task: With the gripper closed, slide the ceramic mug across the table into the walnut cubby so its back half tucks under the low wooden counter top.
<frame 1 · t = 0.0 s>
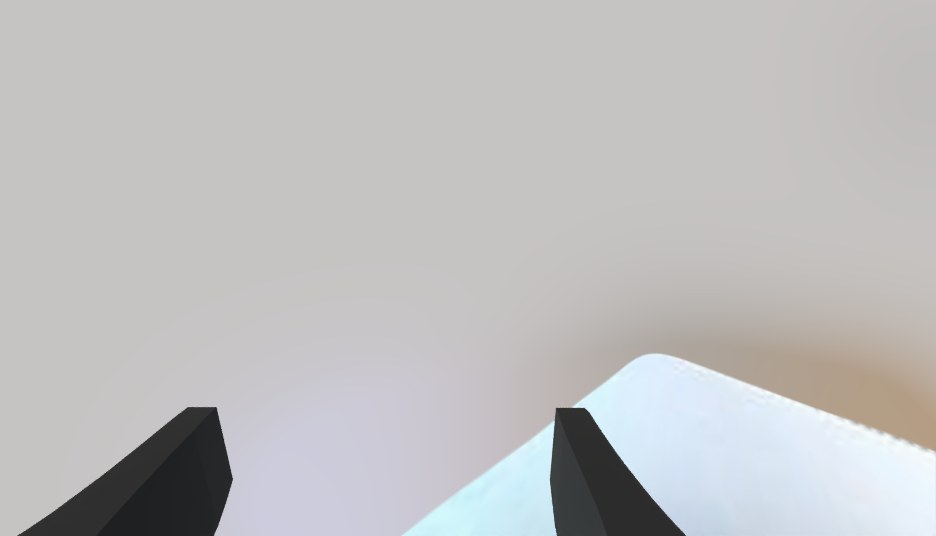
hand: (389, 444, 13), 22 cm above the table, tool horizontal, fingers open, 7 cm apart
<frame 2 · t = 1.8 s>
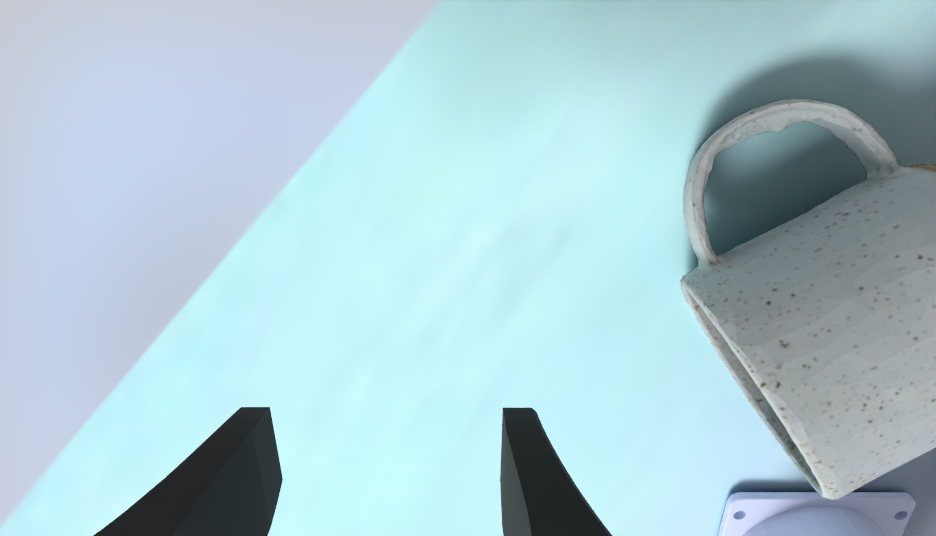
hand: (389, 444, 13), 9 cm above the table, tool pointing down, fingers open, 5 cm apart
ceramic mug: (776, 242, 21), on the table
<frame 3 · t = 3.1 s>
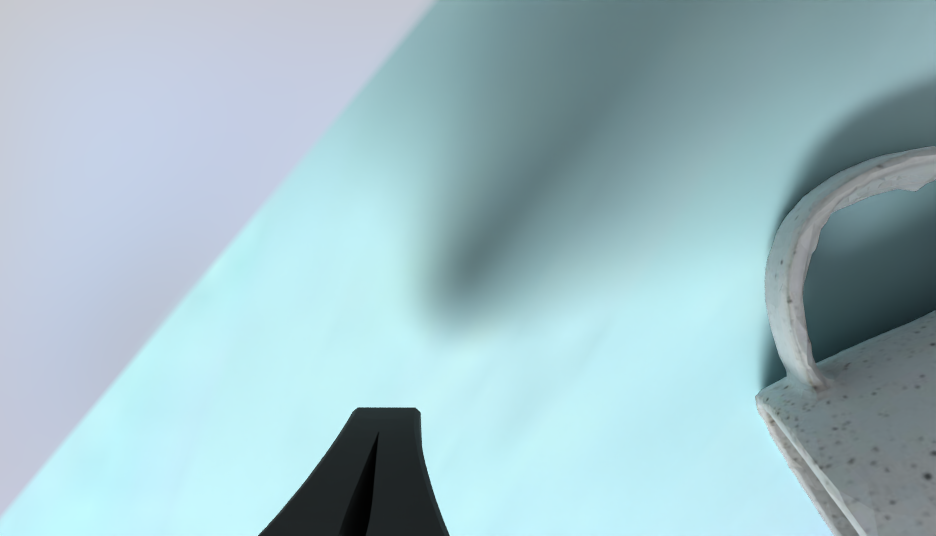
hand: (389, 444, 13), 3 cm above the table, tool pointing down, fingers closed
ceramic mug: (884, 334, 15), on the table
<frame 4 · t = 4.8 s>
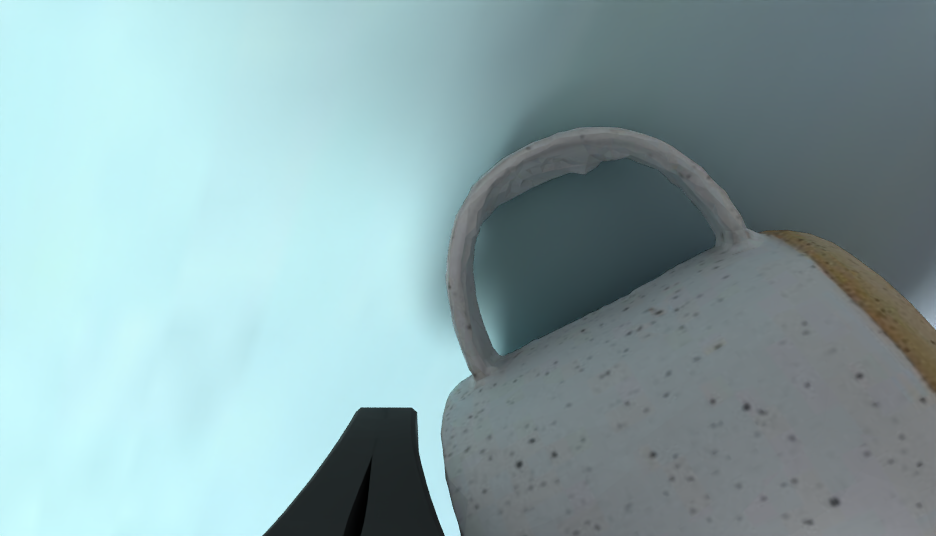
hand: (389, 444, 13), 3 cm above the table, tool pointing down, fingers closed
ceramic mug: (616, 323, 15), on the table, touching gripper
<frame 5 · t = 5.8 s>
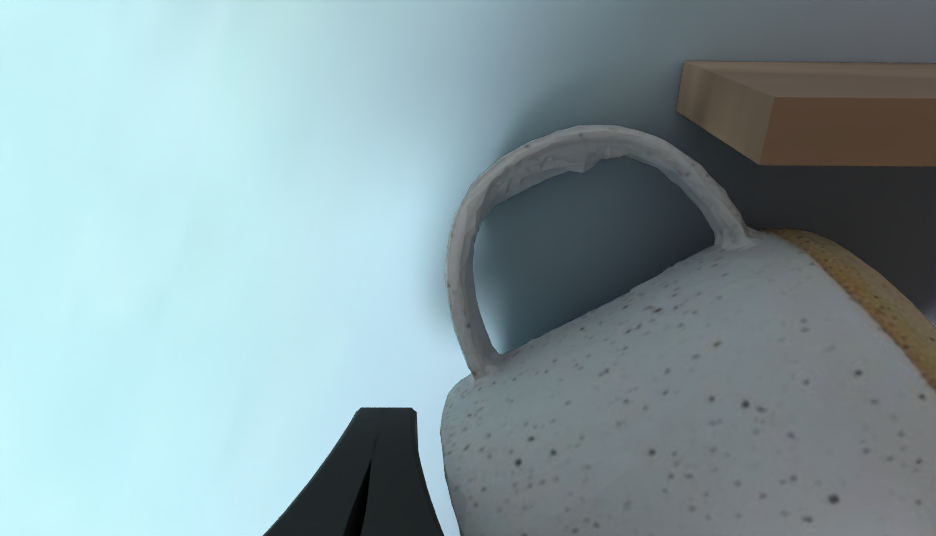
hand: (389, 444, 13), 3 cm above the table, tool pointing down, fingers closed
ceramic mug: (615, 321, 15), on the table, touching gripper
under counter cubby: (906, 368, 15), on the table
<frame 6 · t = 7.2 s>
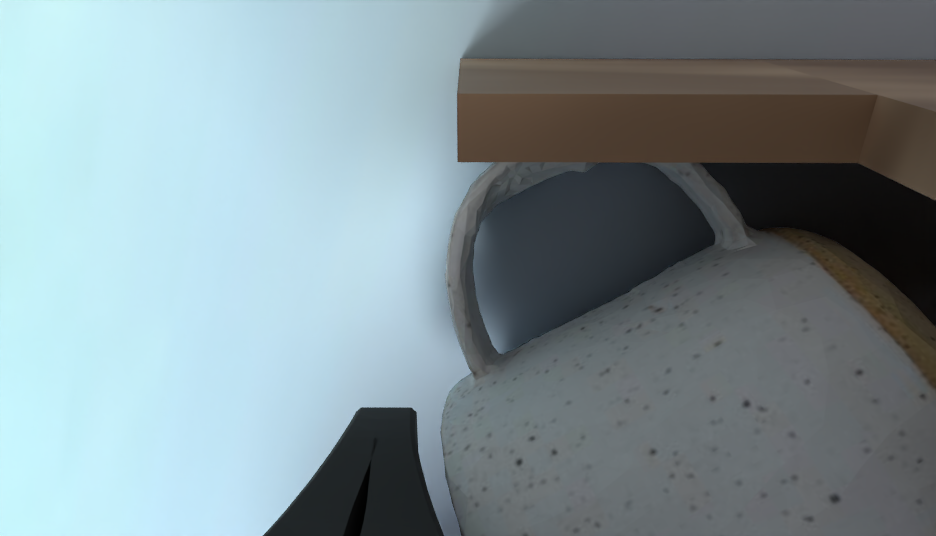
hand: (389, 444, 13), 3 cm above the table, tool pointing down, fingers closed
ceramic mug: (616, 321, 15), on the table, touching gripper
under counter cubby: (733, 365, 15), on the table
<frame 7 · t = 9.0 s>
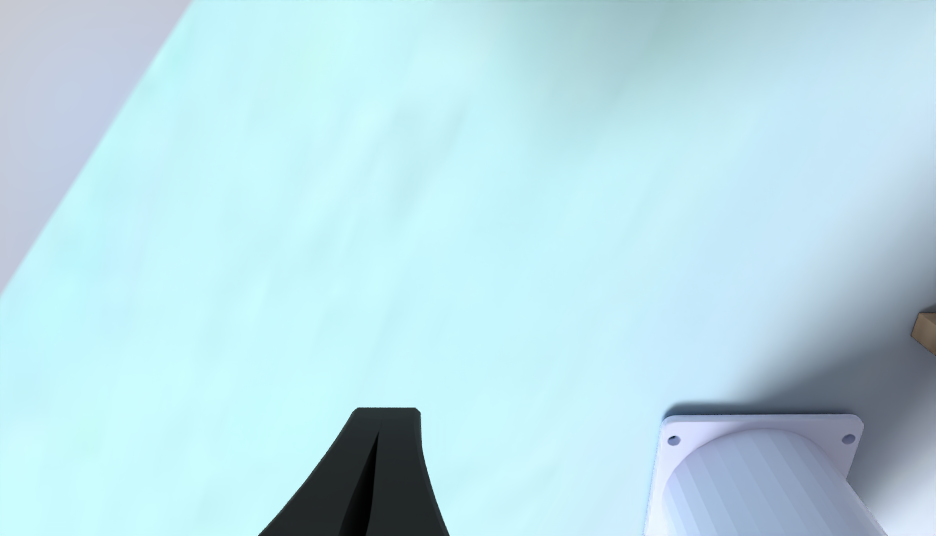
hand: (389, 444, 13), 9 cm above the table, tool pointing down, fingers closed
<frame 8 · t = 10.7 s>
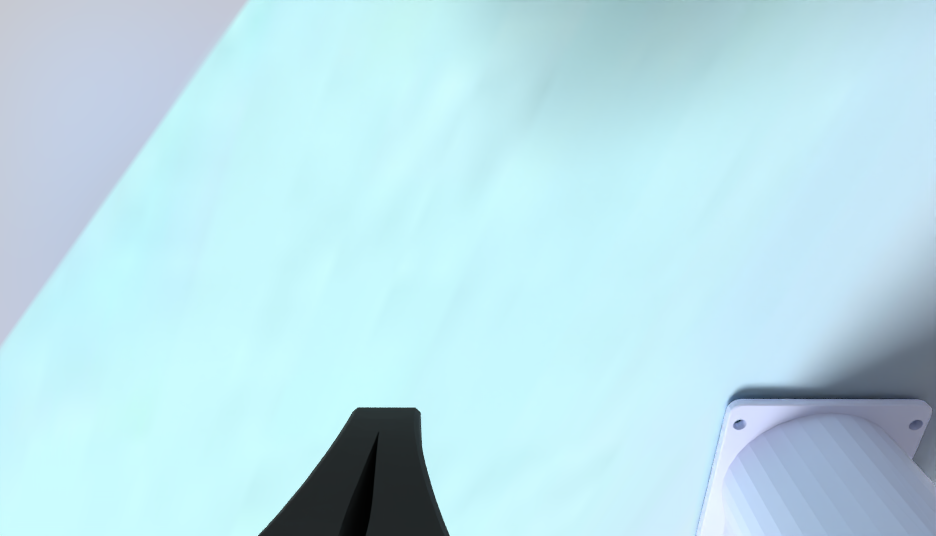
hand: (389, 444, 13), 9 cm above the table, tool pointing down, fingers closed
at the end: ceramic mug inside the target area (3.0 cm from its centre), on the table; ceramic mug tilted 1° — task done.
